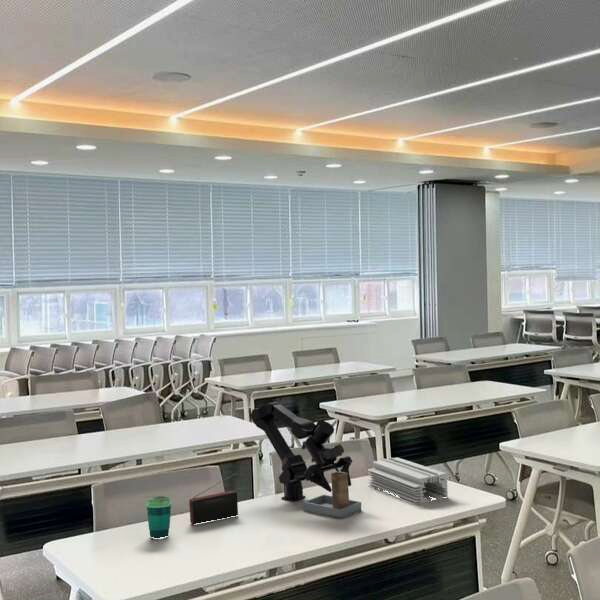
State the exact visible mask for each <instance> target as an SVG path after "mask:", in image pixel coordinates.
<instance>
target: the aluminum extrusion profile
mask: <svg viewBox="0 0 600 600" xmlns="http://www.w3.org/2000/svg"><path fill="white" fill-rule="evenodd" d="M372 465H373V467H372V468H368V469H367V472H366V473H367V474H368V476H369V478H370V479H369V480H368V481H369V482H367V484H368V485H367V486H368V487H370V486H371V487H370V488H372V487H373V489H375V488H376V489H375V490H377V489H378V488H379V489H380V490H381V491H380V490H379V489H378V490H377V491H380V492H382V491H383V490H384V491H385V490H386V491H388V492H389V493H390V492H391V493H393V494H394V495H395V494H396V495H398V496H399V497H400V498H401V499H400V500H402V499H403V500H402V501H404V500H405V502H407V501H408V503H409V502H410V504H411V505H415V506H417V505H422V504H425V502H427V503H430V502H429V501H431V499H432V498H430V497H433V498H436V499H440V500H442V499H441V498H443V497H449V494H448V492H449V491H448V480H447V479H445V478H443V477H447V476H448V473H447V472H443V471H440V470H437V469H434V468H432V467H428V466H425V465H422V464H419V463H416V462H413V461H410V460H407V459H404V458H401V457H390V456H387V459H386V458H383V457H382V458H381V459H380V460H377V461H372ZM369 485H370V486H369ZM396 495H395V496H396ZM429 496H430V497H429ZM431 502H432V501H431ZM421 503H422V504H421Z"/></svg>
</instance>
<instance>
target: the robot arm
mask: <svg viewBox="0 0 600 600" xmlns="http://www.w3.org/2000/svg"><path fill="white" fill-rule="evenodd" d="M276 418H277V419H278V420H279V421H281V422H282V423H283V424H284V425H286V426H287V427H288V428H290V431H291V434H292V435H293V436H295V438H296V439H298V440H304V439H305V440H304V441H302V446H301V450H307V451H308V453H309V455H310V456H311V459H310V461H311V463H315V464H311V465H309V467H308V466H307V465H306V463H307V462H306V461H305V459H304V458H303V456H302V455H301V454H294V453H293V451H292V450H291V448H290V446H289V444H288V443H287V441H286V439H285V437H284V436H283V435H282V433H281V431H280V430H279V428H278V426H277V425H276ZM250 419H251V421H252V422H253V424H254V425H255V426H256V428H257V429H260V430H261V431H264V433H265V435H266V437H267V439H268V441H270V443H271V445H272V447H273V448H274V450H275V452H276V454H277V456H278V457H279V459H280V460H281V471H282V472H281V474H279V477H278V481H279V483H280V484H283V496H281V500H285V501H286V500H287V501H291V502H296V501H298V500H301V499H305V498H306V495H304V488H303V483H302V481H303V482H304V481H306V482H309V481H310V483H314V484H316V485H318V486H320V487H321V488H322V489H324V490H326V491H327V492H329V493H332V486H330V483H329V481H328V480H327V478H326V477H325V473H326V472H328V471H331V470H335V472H339V471H341V472H345V473H348V487H351V486H352V480H351V477H350V467H351V466H352V463H353V460H352V458H351V457H350V456H349V455H346V456H343V453H345V449H344V447H343V445H342V444H341V443H340V444H336V445H334V447H331V448H329V447H326V446H325V444H326V443H328V441H329V439H330V438H331V437H332V436H333V434H334V432H335V427H334V425H333V424H331V423H330V422H327V421H325V420H324V419H323V418H322V419H318V420H317V422H316V424H315V422H313V421H312V420H309V419H307V418H305V417H304V418H303V417H299V416H298V415H296V414H294V413H293V412H292V411H290V409H288V408H286V407H285V406H283V405H282V403H281V402H280V401H273V402H269V403H268V404H265V405H263V406H260V407H256V408H252V410H251V412H250ZM341 456H342V457H341ZM338 457H340V458H339V459H338ZM337 459H338V460H337Z"/></svg>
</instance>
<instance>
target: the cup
mask: <svg viewBox="0 0 600 600" xmlns="http://www.w3.org/2000/svg"><path fill="white" fill-rule="evenodd" d="M172 503H173V502H171V500H170V498H169V497H168V496H162V495H159V496H154V497H151V498H149V499H148V502H147V503H146V504H145V505H146V509H147V521H148V522H147V523H148V530H149V537H150V536H151V537H154V538H160V537H165V536H168V537H169V535H168V534H169V533H170V524H171V514H172V513H171V508H172ZM151 537H150V538H151Z"/></svg>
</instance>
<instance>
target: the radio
mask: <svg viewBox="0 0 600 600" xmlns="http://www.w3.org/2000/svg"><path fill="white" fill-rule="evenodd" d="M238 473H240V472H239V471H237V472H236V473H234V474H232V475H231V476H229V477H227V478H225V479H223V480H221V481H220V482H217V483H216V484H214V485H212V486H210V487H209V488H207V489H206V490H203V491H202V492H199V493H198V494H196V495H195V496H193V497H192V498H190V499H189V501H188V502H189V516H190V517H189V521H190V522H191V523H192V524H196V523H201V522H206V521H211V520H217V519H222V518H227V517H231V516H236V515H238V516H239V505H238V493H237V492H236V491H235V490H229V491H224V492H219V493H214V494H209V495H204V496H200V495H201V494H204V493H205V492H207V491H208V490H210V489H212V488H214V487H215V486H217V485H219V484H221V483H222V482H224V481H226V480H227V479H229V478H231V477H233V476H235V475H236V474H238ZM199 496H200V497H199ZM191 523H190V524H191ZM192 524H191V525H192Z"/></svg>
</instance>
